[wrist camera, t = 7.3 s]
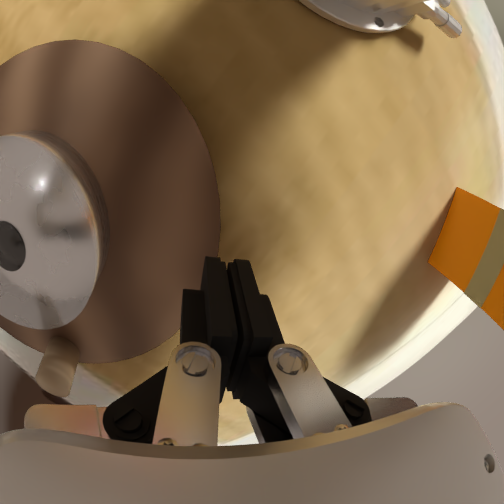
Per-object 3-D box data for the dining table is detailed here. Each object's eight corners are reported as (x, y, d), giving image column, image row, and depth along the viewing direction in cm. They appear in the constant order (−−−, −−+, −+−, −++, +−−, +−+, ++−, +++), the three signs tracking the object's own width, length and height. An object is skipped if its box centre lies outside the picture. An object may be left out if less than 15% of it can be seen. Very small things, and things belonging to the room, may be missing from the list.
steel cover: (119, 132, 12) (100, 136, 9) (112, 313, 17) (103, 346, 14) (-28, 134, 9) (-57, 143, 6) (-12, 287, 14) (-30, 311, 11)
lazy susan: (253, 55, 13) (282, 28, 8) (198, 362, 23) (204, 414, 18) (-44, 77, 6) (-87, 80, 2) (-17, 325, 16) (-37, 362, 12)
